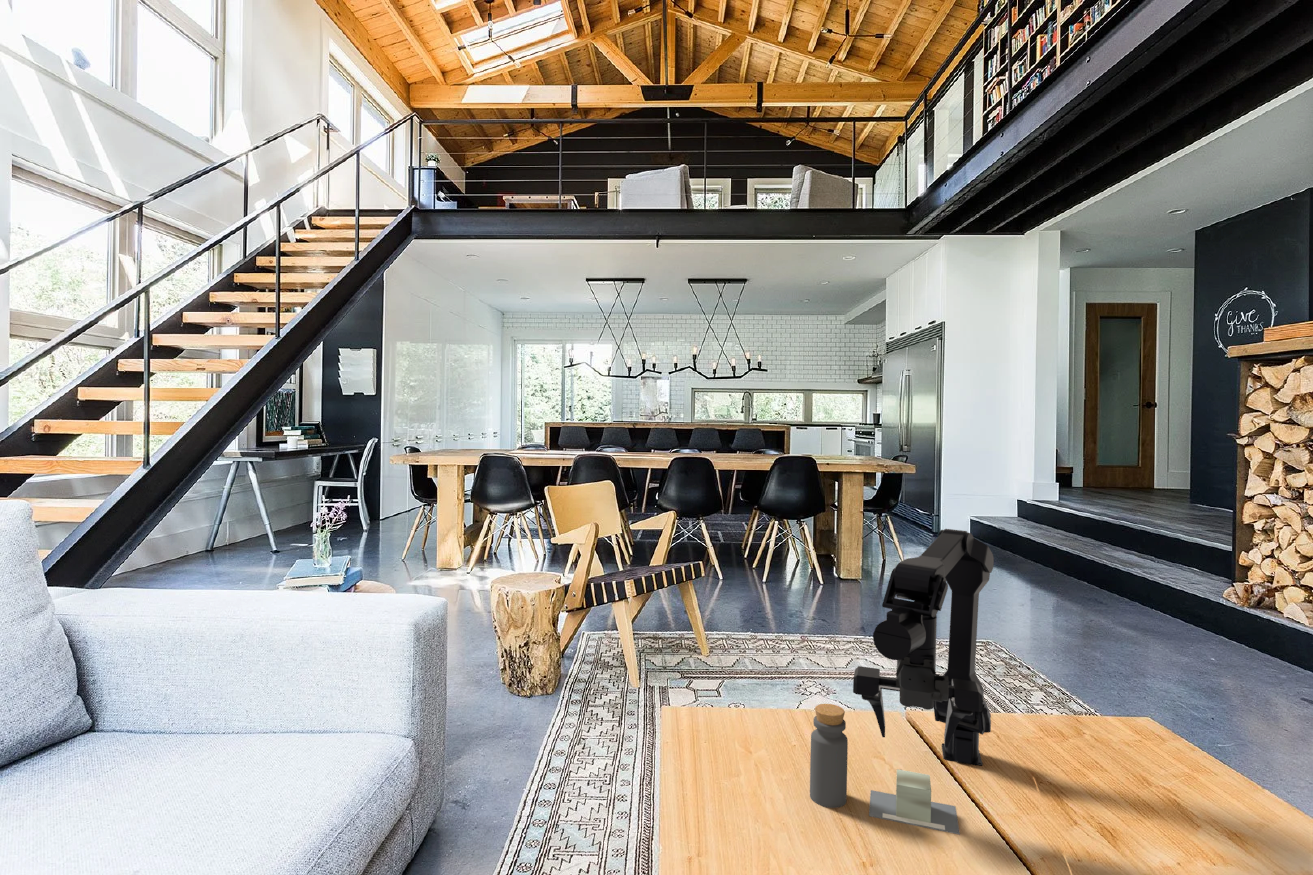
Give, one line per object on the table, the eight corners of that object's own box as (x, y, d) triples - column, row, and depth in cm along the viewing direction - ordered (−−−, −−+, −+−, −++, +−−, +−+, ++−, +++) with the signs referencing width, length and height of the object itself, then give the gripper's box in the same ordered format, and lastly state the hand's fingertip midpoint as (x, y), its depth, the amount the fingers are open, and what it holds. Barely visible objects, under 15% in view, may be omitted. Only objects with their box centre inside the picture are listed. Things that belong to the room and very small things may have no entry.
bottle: (847, 812, 106) (849, 718, 105) (810, 807, 107) (811, 714, 107) (845, 792, 111) (846, 703, 111) (809, 788, 113) (810, 700, 112)
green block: (896, 799, 109) (896, 768, 109) (929, 805, 107) (929, 774, 107) (896, 815, 104) (896, 784, 104) (930, 822, 103) (931, 790, 102)
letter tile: (870, 792, 112) (870, 789, 112) (955, 808, 107) (955, 805, 107) (868, 818, 104) (868, 815, 104) (959, 836, 100) (959, 834, 100)
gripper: (851, 651, 101) (849, 753, 101) (988, 668, 95) (985, 777, 95) (856, 630, 111) (854, 723, 112) (979, 645, 105) (977, 743, 105)
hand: (914, 741), depth 106 cm, fingers open, 9 cm apart
